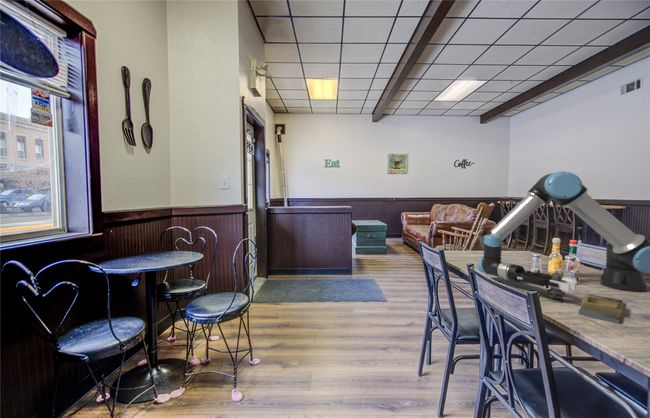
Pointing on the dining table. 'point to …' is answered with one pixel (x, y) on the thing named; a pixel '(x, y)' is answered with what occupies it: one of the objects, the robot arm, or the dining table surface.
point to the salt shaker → (556, 290)
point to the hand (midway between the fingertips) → (572, 287)
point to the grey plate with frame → (601, 308)
